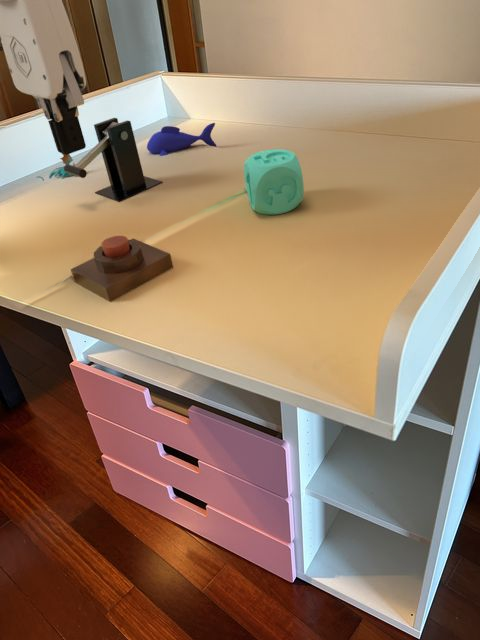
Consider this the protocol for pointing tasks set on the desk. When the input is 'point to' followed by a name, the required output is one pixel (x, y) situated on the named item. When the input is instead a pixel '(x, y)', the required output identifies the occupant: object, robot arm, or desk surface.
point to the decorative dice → (273, 181)
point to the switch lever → (89, 156)
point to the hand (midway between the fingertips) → (72, 150)
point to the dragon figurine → (62, 168)
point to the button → (115, 246)
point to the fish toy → (176, 140)
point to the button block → (121, 270)
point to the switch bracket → (122, 162)
